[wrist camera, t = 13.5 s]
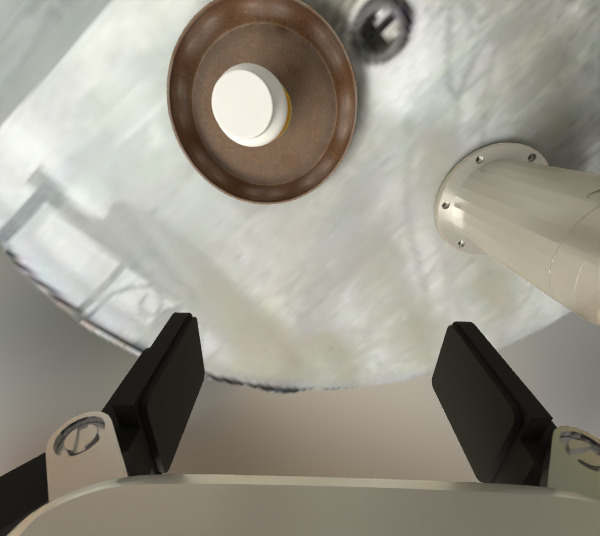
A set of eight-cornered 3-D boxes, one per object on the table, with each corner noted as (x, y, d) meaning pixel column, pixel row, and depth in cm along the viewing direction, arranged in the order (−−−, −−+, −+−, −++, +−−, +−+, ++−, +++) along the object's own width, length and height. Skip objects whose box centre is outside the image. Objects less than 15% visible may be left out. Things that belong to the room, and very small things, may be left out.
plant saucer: (264, -56, 25) (261, -78, 22) (386, 117, 31) (395, 117, 28) (141, 105, 30) (126, 104, 27) (266, 228, 36) (264, 237, 33)
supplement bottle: (299, 86, 27) (294, 70, 18) (284, 148, 29) (273, 160, 20) (240, 67, 26) (205, 41, 18) (230, 132, 29) (194, 137, 20)
